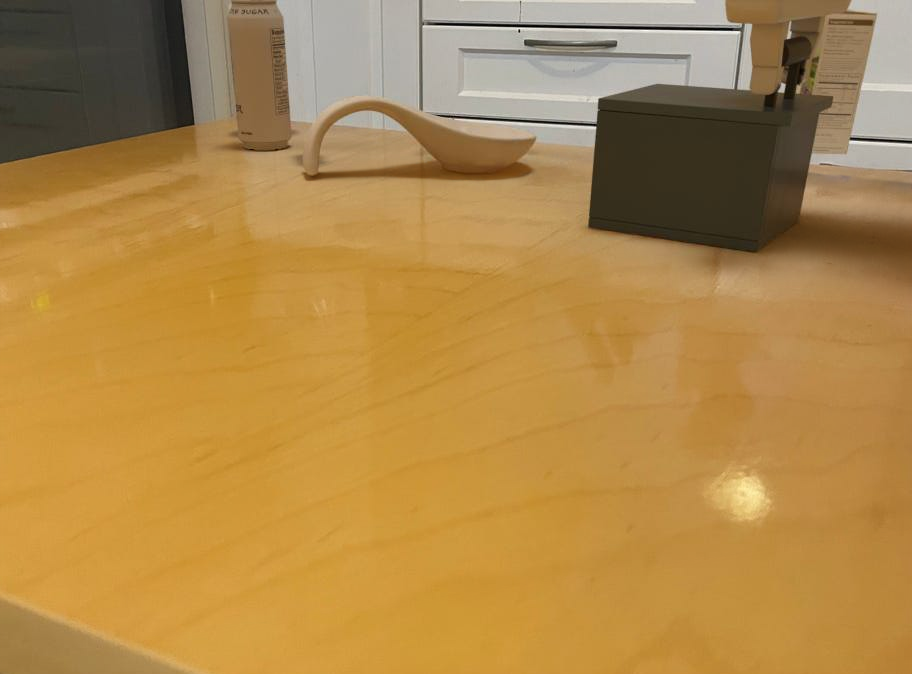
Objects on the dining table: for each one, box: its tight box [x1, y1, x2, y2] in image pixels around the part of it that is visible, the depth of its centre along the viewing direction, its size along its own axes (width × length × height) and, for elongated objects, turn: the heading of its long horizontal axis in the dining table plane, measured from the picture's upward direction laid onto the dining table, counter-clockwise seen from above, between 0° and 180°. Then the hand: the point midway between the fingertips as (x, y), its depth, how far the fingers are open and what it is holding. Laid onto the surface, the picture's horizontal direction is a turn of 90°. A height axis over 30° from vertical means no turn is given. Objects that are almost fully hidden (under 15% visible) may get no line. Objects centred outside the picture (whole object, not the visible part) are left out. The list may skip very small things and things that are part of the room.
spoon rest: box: [302, 94, 537, 176], centre depth 94 cm, size 24×12×7 cm, turn 104°
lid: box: [597, 36, 833, 126], centre depth 71 cm, size 14×12×5 cm
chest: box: [587, 109, 820, 253], centre depth 74 cm, size 14×12×9 cm
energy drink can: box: [226, 0, 292, 151], centre depth 105 cm, size 6×6×15 cm
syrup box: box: [795, 8, 878, 155], centre depth 96 cm, size 6×6×14 cm
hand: (779, 88), depth 69 cm, fingers closed on lid, 6 cm apart
